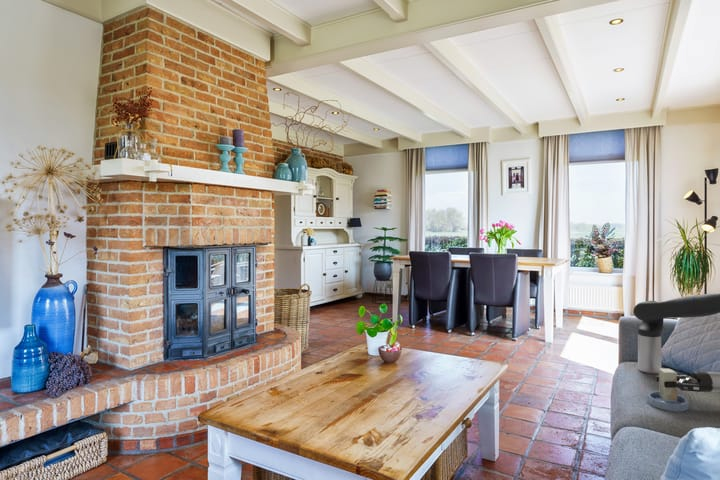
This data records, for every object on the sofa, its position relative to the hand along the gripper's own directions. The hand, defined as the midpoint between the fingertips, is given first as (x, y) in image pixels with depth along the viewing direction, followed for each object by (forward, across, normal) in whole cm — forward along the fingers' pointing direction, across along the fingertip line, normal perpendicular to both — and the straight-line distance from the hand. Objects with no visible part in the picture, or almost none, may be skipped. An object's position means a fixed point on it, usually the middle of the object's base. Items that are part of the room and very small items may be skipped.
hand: (660, 381), depth 170 cm
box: (-3, 0, +7) cm, 7 cm away
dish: (-2, 0, +9) cm, 9 cm away
